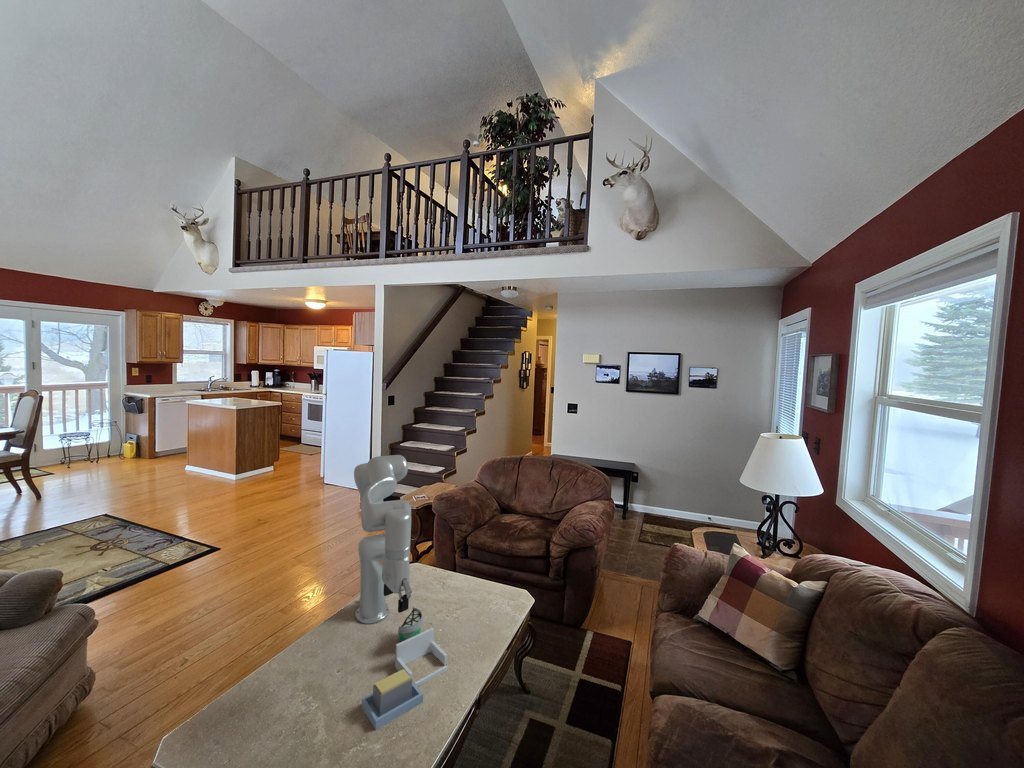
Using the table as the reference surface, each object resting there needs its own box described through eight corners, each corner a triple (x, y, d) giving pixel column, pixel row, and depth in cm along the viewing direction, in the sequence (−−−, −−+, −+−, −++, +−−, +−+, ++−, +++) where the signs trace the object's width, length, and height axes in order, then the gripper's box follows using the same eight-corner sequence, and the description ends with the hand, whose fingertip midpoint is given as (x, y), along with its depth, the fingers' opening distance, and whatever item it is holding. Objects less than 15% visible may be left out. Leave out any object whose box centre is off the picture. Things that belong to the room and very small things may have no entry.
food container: (414, 658, 148) (414, 630, 147) (397, 654, 150) (398, 627, 149) (428, 634, 160) (429, 609, 159) (412, 631, 162) (413, 606, 161)
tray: (361, 706, 128) (361, 698, 128) (406, 682, 138) (407, 674, 138) (375, 730, 121) (376, 721, 120) (422, 702, 131) (423, 694, 130)
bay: (395, 667, 144) (395, 644, 143) (431, 648, 153) (432, 627, 152) (412, 689, 135) (413, 665, 134) (450, 668, 145) (451, 645, 144)
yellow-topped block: (372, 705, 128) (373, 683, 127) (403, 688, 135) (404, 667, 134) (380, 716, 124) (380, 694, 124) (411, 698, 131) (412, 677, 130)
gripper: (373, 542, 136) (372, 592, 138) (399, 567, 123) (397, 622, 126) (395, 535, 141) (394, 584, 143) (422, 559, 128) (420, 612, 131)
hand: (395, 602), depth 134 cm, fingers open, 9 cm apart
